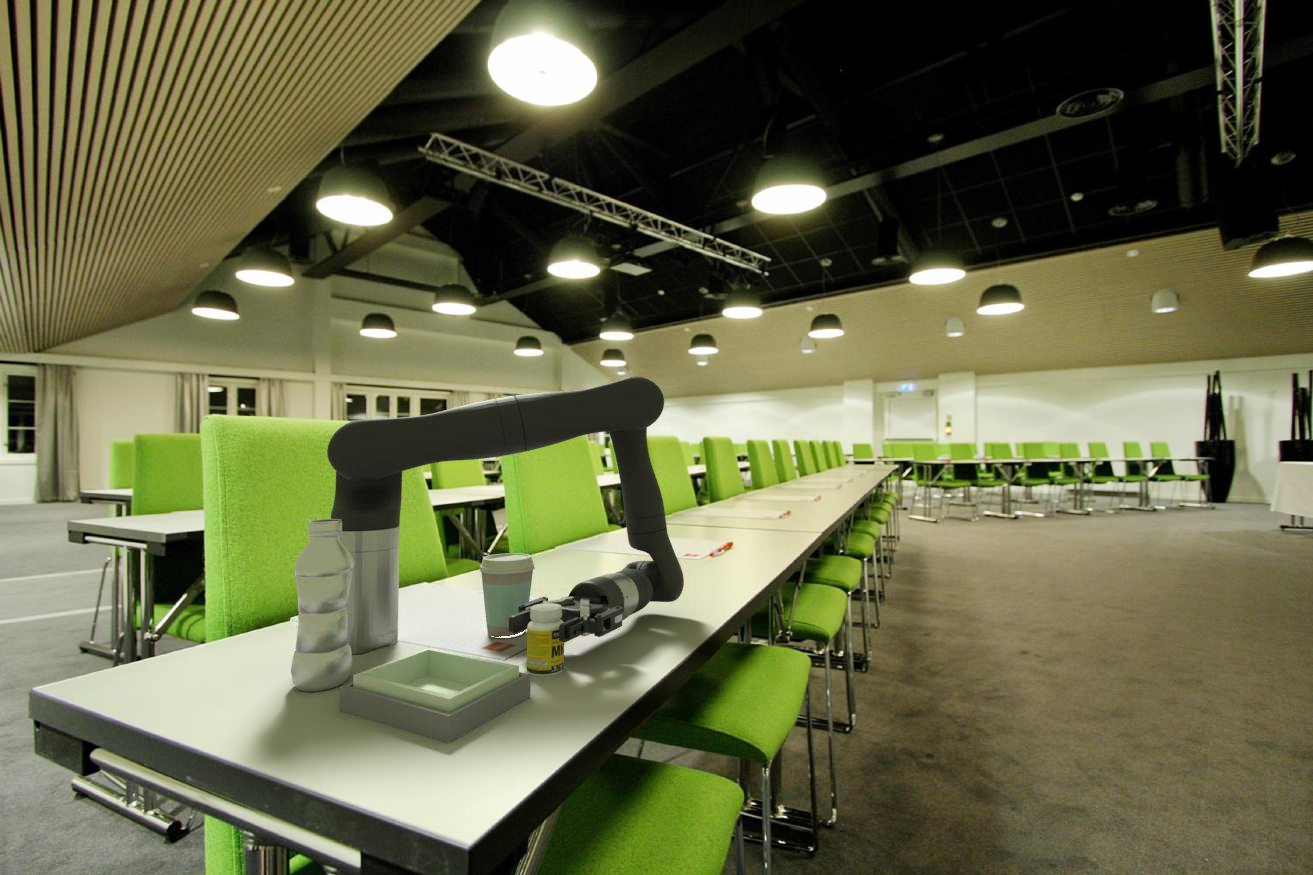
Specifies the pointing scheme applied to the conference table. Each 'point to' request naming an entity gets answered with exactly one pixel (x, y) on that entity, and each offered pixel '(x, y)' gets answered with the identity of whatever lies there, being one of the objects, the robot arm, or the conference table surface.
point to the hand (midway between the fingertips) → (535, 629)
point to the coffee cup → (505, 588)
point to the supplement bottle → (544, 640)
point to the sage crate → (436, 678)
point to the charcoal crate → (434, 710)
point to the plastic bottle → (323, 609)
